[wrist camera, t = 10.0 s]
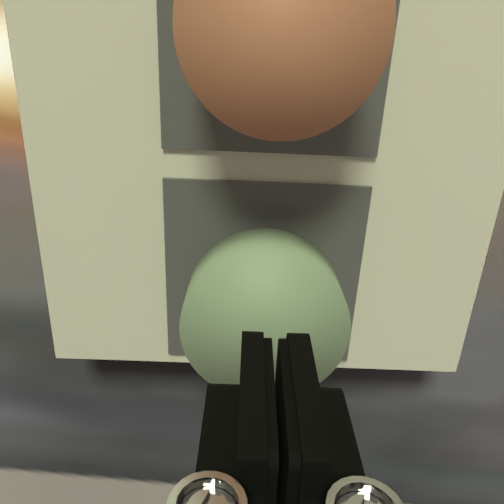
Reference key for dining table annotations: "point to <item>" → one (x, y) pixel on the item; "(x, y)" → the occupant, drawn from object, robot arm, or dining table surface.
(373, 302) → the switch panel
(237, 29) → the terracotta button
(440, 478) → the dining table surface
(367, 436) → the dining table surface
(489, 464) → the dining table surface
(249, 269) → the sage button
